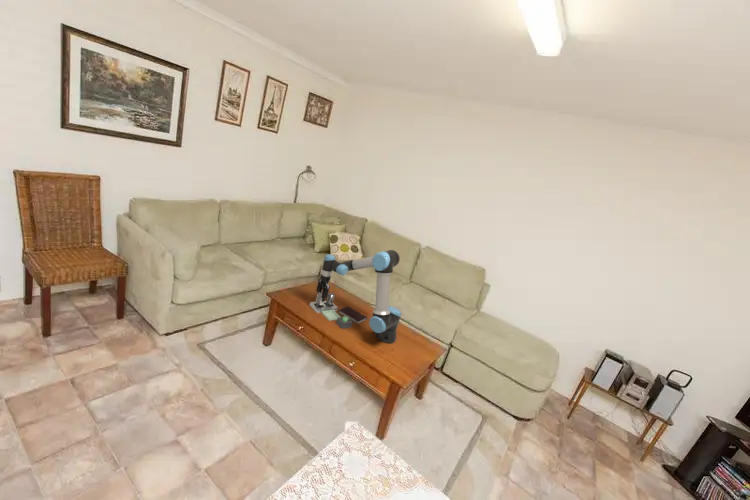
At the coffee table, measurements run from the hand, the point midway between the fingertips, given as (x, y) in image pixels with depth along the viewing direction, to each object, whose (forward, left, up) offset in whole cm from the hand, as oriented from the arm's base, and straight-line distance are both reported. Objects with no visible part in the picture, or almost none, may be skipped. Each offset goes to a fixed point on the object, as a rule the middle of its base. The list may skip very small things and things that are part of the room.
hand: (319, 302), depth 263 cm
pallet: (0, -5, -5) cm, 7 cm away
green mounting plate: (-13, -4, -5) cm, 14 cm away
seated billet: (0, -9, -5) cm, 10 cm away
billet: (0, 0, -3) cm, 3 cm away
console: (-26, -7, -5) cm, 27 cm away
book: (-16, -22, -6) cm, 27 cm away
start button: (-26, -7, -3) cm, 27 cm away
